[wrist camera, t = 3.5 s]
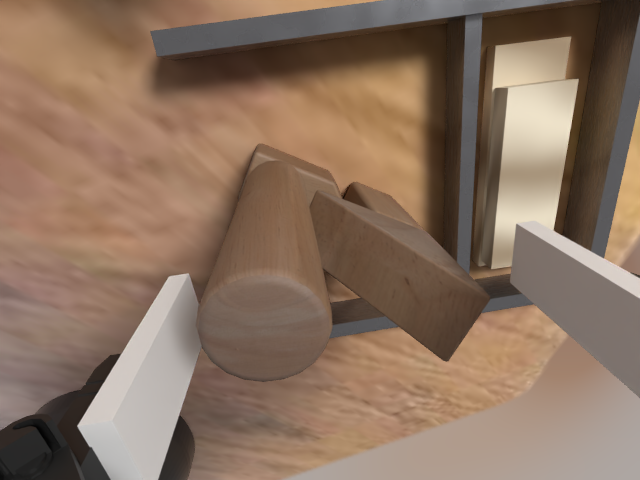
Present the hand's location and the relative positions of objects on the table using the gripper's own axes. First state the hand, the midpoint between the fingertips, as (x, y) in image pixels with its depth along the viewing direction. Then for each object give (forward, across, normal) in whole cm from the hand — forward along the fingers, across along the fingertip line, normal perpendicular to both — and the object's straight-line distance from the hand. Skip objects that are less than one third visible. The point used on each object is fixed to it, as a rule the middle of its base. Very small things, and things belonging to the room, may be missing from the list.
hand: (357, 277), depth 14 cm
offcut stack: (+14, -14, 0) cm, 20 cm away
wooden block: (+13, 0, 0) cm, 13 cm away
